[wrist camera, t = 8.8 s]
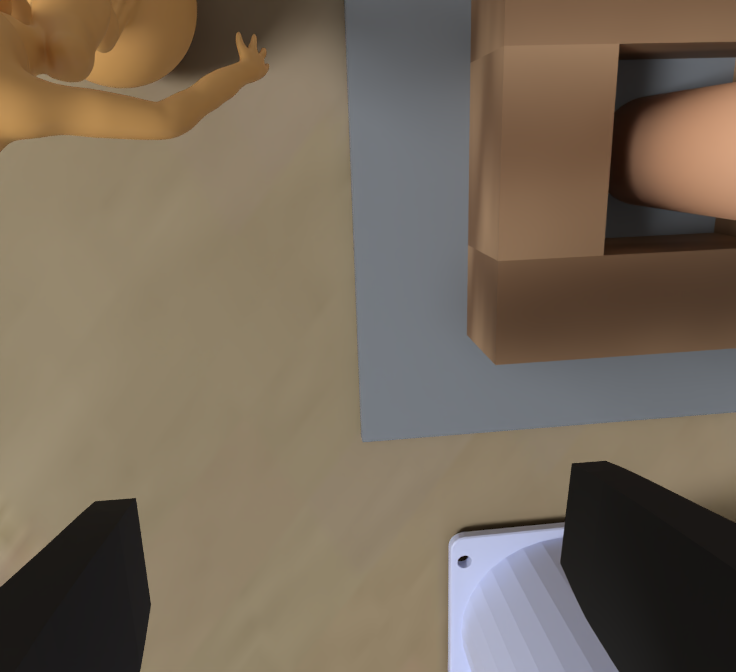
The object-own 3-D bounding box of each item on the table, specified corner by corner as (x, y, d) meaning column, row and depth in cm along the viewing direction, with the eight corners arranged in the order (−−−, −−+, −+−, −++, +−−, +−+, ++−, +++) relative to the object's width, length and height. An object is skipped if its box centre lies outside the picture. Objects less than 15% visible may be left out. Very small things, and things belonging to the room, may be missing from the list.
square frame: (783, 314, 21) (859, 339, 18) (466, 335, 20) (495, 364, 17) (843, -54, 18) (946, -92, 15) (471, -53, 17) (508, -94, 14)
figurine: (293, -32, 17) (292, -404, 6) (268, 190, 19) (226, 252, 7) (-33, -102, 16) (-888, -763, 4) (-32, 143, 17) (-655, 127, 6)
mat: (845, 397, 23) (857, 402, 23) (361, 435, 21) (362, 442, 21) (963, -187, 18) (981, -197, 17) (336, -201, 16) (337, -211, 16)
